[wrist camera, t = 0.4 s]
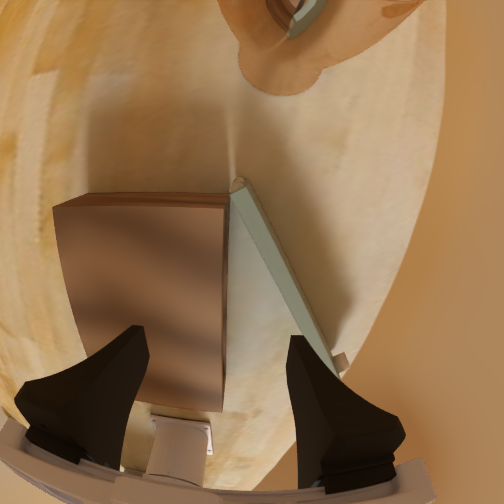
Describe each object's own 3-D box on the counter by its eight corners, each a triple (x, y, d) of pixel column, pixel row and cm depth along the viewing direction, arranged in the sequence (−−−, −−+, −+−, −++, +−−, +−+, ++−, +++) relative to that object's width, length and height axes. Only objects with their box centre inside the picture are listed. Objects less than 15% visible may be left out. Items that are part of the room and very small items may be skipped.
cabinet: (225, 374, 26) (222, 412, 22) (118, 360, 26) (102, 392, 21) (230, 194, 20) (223, 208, 15) (88, 193, 20) (52, 207, 15)
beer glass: (231, 101, 17) (181, -8, 3) (232, 21, 15) (207, -126, 1) (328, 105, 17) (475, 46, 3) (325, 26, 15) (417, -92, 1)
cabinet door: (344, 352, 25) (357, 386, 20) (324, 361, 25) (334, 396, 21) (260, 165, 19) (262, 170, 14) (231, 179, 19) (226, 188, 15)
